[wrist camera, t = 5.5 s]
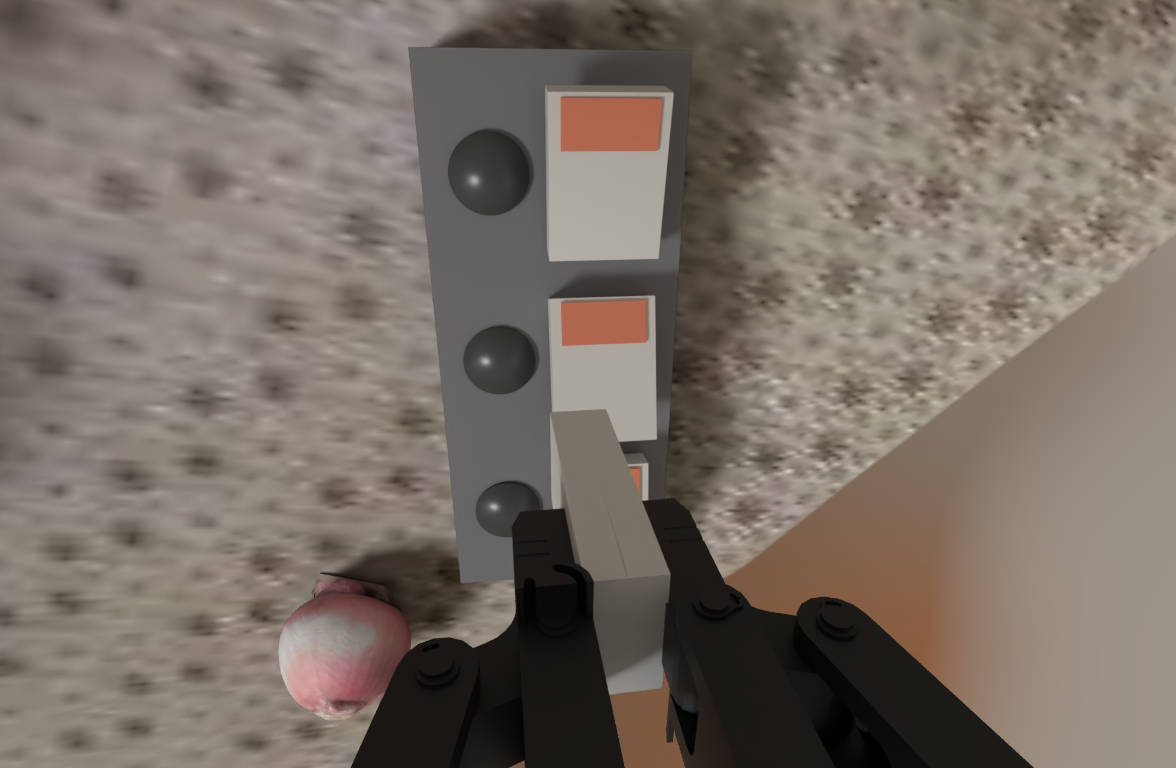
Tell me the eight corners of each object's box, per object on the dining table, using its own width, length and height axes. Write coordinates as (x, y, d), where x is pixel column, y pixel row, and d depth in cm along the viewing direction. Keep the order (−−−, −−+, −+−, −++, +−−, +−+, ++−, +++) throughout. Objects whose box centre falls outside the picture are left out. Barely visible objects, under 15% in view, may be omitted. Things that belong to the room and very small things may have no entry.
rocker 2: (553, 437, 32) (555, 445, 30) (547, 298, 31) (549, 298, 29) (649, 432, 33) (657, 440, 31) (648, 295, 32) (655, 295, 30)
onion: (363, 654, 45) (303, 752, 39) (293, 577, 43) (217, 668, 36) (448, 631, 42) (398, 734, 36) (378, 546, 39) (311, 640, 33)
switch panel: (464, 540, 41) (460, 585, 37) (419, 53, 30) (407, 46, 26) (646, 527, 42) (660, 569, 38) (670, 57, 31) (693, 50, 27)
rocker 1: (546, 247, 30) (549, 262, 28) (545, 84, 26) (547, 92, 24) (651, 245, 30) (659, 260, 29) (664, 85, 26) (674, 93, 25)
